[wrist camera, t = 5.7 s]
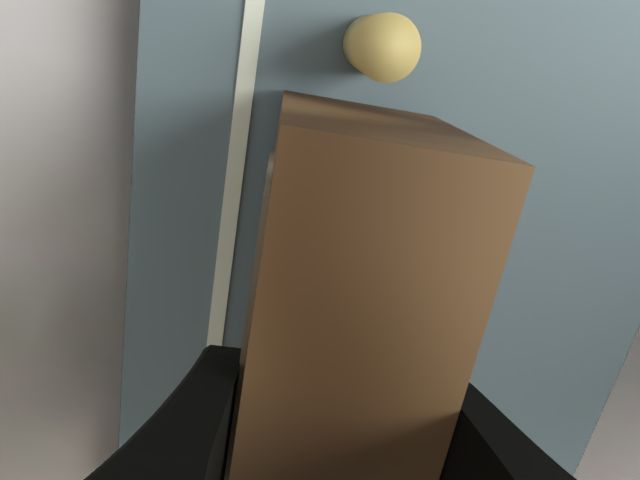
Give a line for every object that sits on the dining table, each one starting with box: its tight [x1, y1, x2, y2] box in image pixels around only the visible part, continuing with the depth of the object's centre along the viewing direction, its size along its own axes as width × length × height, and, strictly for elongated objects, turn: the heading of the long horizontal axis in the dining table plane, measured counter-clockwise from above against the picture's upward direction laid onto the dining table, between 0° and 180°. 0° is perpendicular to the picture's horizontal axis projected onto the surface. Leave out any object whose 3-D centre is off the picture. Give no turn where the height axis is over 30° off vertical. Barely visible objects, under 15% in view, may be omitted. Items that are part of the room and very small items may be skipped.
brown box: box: [224, 90, 535, 480], centre depth 11 cm, size 4×10×6 cm, turn 170°
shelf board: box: [118, 0, 640, 476], centre depth 13 cm, size 14×23×4 cm, turn 170°
